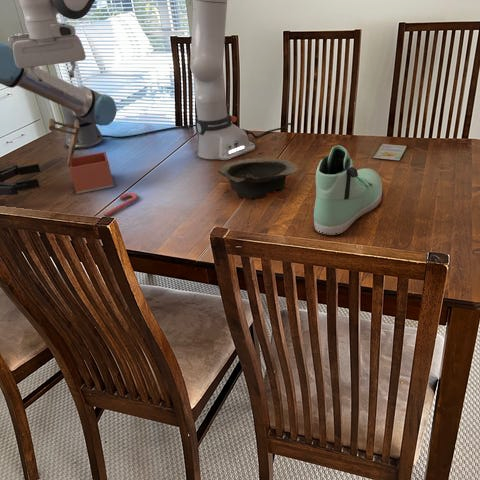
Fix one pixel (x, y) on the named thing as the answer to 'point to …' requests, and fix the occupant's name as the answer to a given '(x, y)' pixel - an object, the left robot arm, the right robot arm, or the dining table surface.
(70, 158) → the lid
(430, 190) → the dining table surface
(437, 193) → the dining table surface
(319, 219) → the sneaker
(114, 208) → the candy cane
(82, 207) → the dining table surface
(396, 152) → the baking ingredient package
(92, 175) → the chest
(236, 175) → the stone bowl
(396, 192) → the dining table surface
